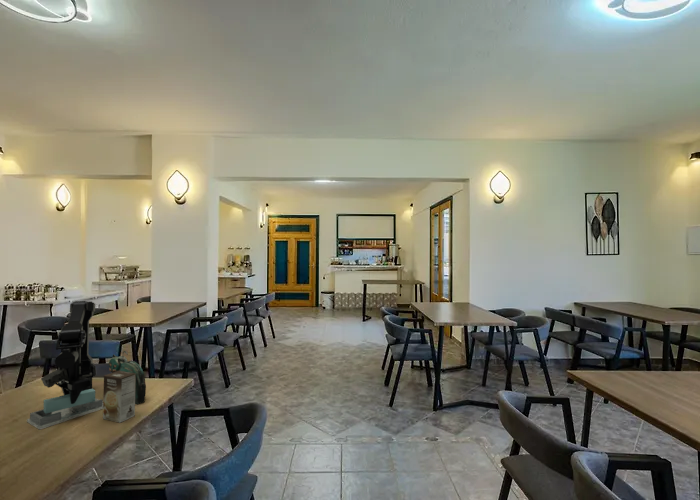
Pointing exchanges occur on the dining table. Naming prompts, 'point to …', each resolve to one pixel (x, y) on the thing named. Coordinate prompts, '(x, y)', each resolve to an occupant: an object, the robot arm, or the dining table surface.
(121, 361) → the ceramic cat
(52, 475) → the dining table surface
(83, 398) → the rail
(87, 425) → the dining table surface
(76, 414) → the cup bracket
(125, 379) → the coffee box
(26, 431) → the dining table surface
